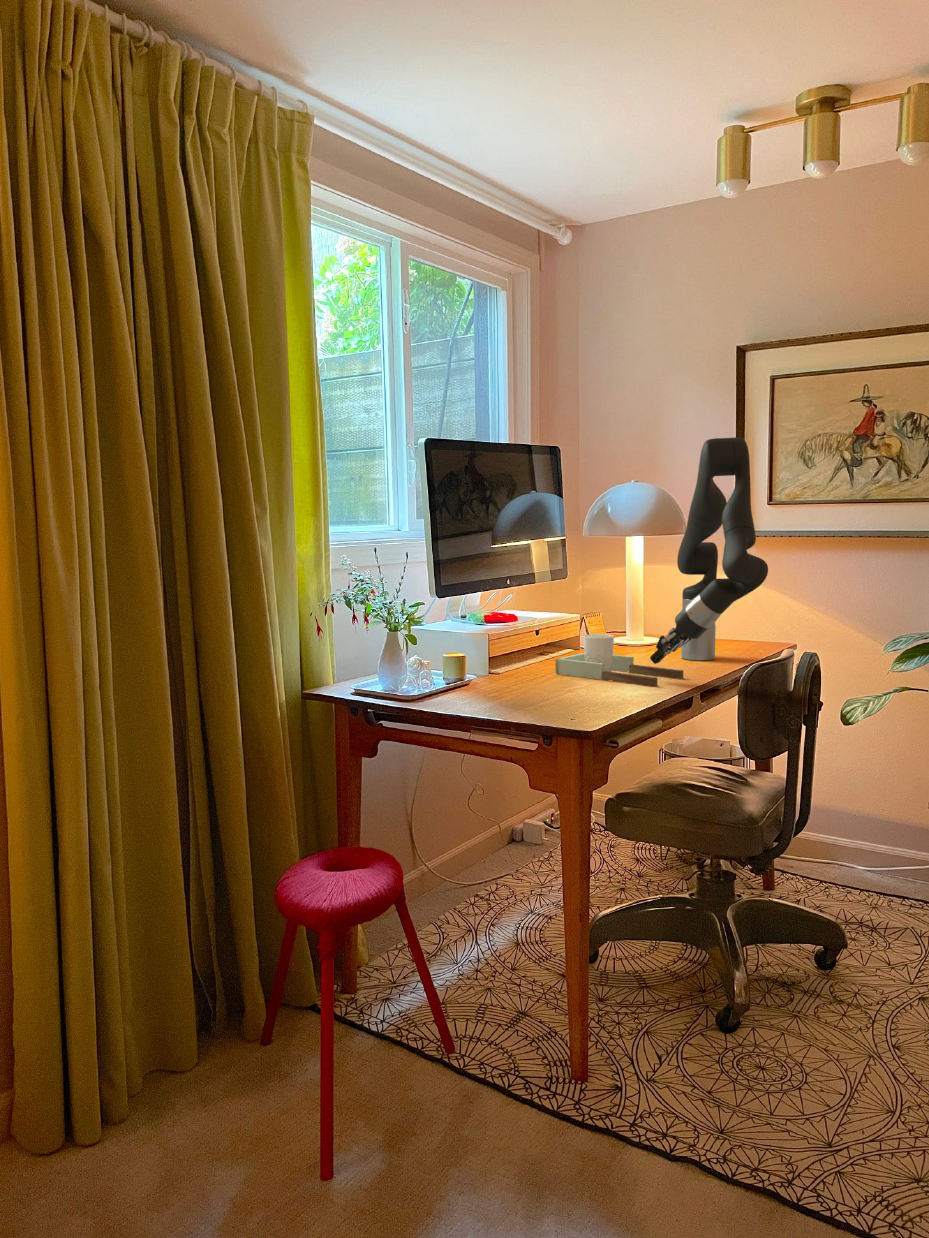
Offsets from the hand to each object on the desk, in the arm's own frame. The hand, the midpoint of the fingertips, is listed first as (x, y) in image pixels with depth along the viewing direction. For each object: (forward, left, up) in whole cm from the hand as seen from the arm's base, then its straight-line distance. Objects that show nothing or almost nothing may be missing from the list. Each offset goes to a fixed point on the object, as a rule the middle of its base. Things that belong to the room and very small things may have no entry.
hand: (653, 660), depth 236 cm
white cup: (0, -16, -5) cm, 17 cm away
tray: (0, -17, -5) cm, 18 cm away
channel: (0, -3, -5) cm, 6 cm away
